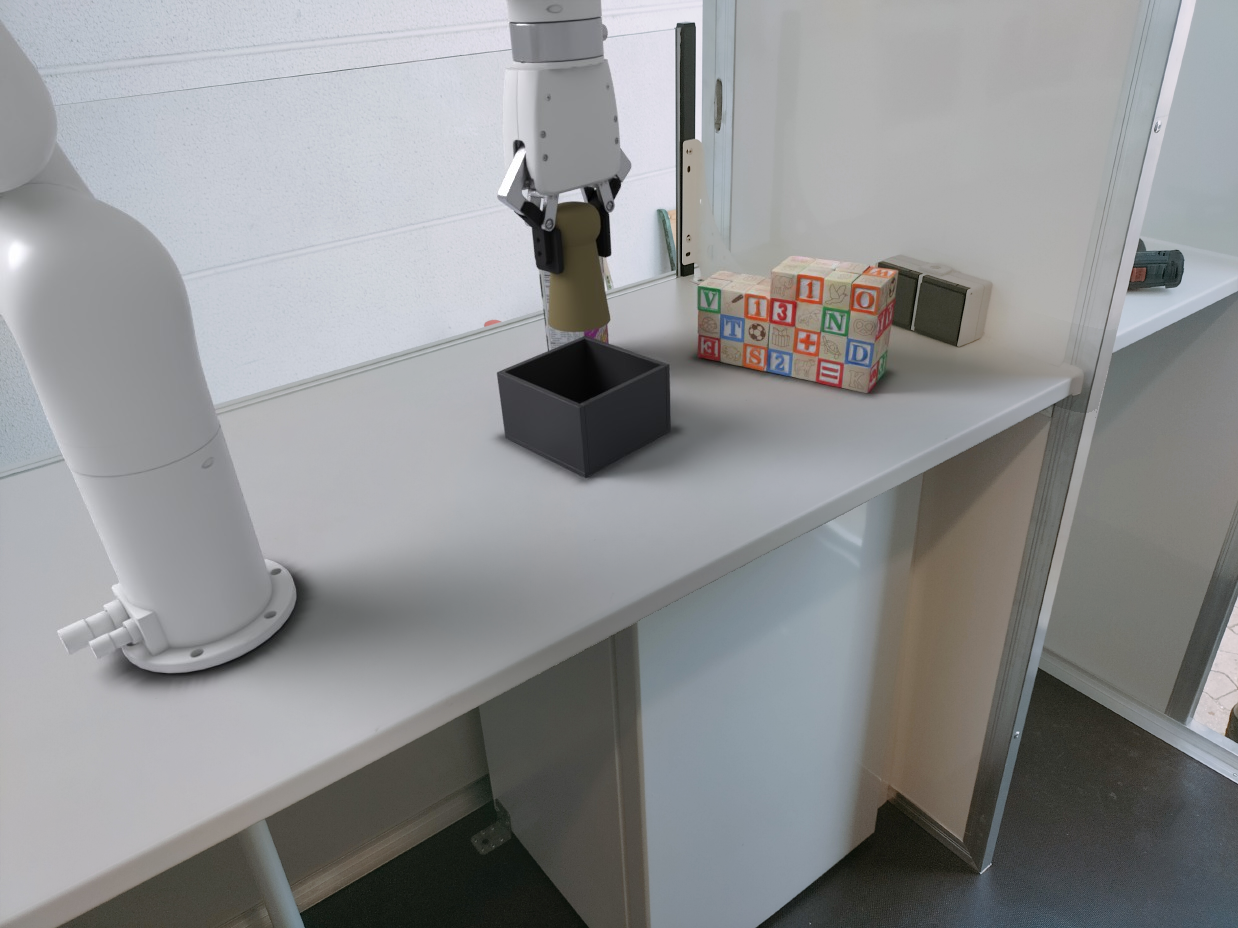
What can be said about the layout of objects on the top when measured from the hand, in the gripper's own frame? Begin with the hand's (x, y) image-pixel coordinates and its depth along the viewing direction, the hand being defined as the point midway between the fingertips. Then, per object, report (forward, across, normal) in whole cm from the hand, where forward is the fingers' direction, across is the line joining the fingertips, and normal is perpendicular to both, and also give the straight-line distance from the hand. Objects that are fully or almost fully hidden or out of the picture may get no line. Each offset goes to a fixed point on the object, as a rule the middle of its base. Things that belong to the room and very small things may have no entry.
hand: (574, 260), depth 79 cm
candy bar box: (+19, -11, -13) cm, 25 cm away
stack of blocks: (+19, -27, +6) cm, 33 cm away
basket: (+18, 0, 0) cm, 18 cm away
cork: (+6, 0, 0) cm, 6 cm away
